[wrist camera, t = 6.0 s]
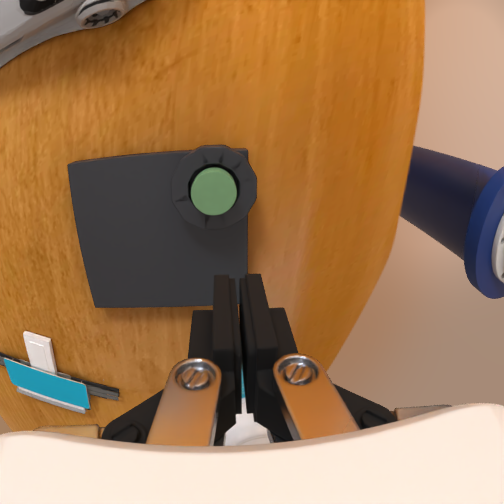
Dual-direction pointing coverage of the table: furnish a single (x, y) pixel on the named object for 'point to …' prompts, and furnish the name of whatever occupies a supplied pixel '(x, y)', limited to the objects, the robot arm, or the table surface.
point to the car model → (52, 20)
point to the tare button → (213, 191)
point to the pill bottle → (246, 428)
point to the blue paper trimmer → (51, 377)
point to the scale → (159, 227)
